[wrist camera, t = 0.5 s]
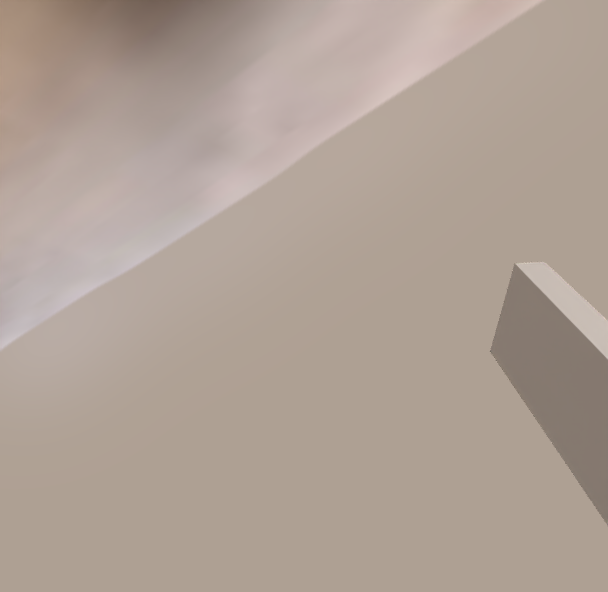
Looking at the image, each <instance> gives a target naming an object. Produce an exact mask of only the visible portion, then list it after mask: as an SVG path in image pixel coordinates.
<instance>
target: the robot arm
mask: <svg viewBox="0 0 608 592" xmlns="http://www.w3.org/2000/svg"><path fill="white" fill-rule="evenodd" d="M490 352H491V353H492V355H493V356H494V358H495V359H496V361H497V362H498V364H499V365H500V367H501V368H502V370H503V371H504V372H505V374H506V375H507V377H508V378H509V380H510V381H511V383H512V385H513V386H514V388H515V389H516V390H517V392H518V393H519V395H520V396H521V398H522V399H523V401H524V402H525V403H526V405H527V407H528V408H529V410H530V411H531V413H532V414H533V416H534V417H535V419H536V420H537V422H538V423H539V424H540V426H541V427H542V429H543V430H544V432H545V433H546V435H547V436H548V438H549V439H550V441H551V442H552V444H553V445H554V447H555V448H556V450H557V451H558V452H559V454H560V455H561V457H562V458H563V460H564V461H565V463H566V464H567V466H568V467H569V469H570V470H571V472H572V473H573V475H574V476H575V478H576V479H577V481H578V482H579V483H580V485H581V487H582V488H583V489H584V491H585V492H586V494H587V495H588V497H589V498H590V500H591V501H592V503H593V504H594V506H595V507H596V509H597V510H598V512H599V513H600V514H601V516H602V518H603V519H604V521H605V522H606V523H607V525H608V320H607V319H605V318H604V317H603V316H602V315H601V314H600V313H599V312H598V311H597V310H596V309H594V307H593V306H591V305H590V304H589V303H588V302H587V301H586V300H585V299H584V298H583V297H582V296H581V295H579V293H577V292H576V291H575V290H574V289H573V288H572V287H571V286H570V285H569V284H568V283H567V282H566V281H565V280H563V279H562V278H561V277H560V276H559V275H558V274H557V273H556V272H555V271H554V270H553V269H551V268H550V267H549V266H548V265H547V264H546V263H545V262H532V263H515V264H514V268H513V271H512V275H511V279H510V282H509V286H508V289H507V293H506V296H505V300H504V304H503V307H502V311H501V314H500V318H499V321H498V325H497V328H496V332H495V336H494V339H493V343H492V346H491V350H490Z"/></svg>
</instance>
